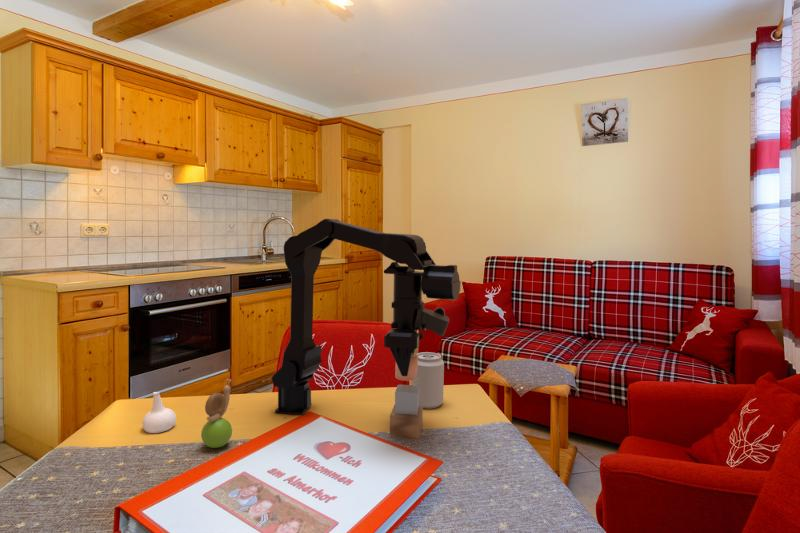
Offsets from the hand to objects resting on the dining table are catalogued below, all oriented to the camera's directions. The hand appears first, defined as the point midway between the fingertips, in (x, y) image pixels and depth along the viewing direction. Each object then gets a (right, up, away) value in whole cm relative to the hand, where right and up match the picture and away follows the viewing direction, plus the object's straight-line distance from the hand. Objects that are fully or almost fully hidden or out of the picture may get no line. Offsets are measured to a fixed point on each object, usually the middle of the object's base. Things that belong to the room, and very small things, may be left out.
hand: (406, 372), depth 96 cm
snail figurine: (-36, -13, -7) cm, 38 cm away
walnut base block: (0, -13, +1) cm, 13 cm away
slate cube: (0, -8, +1) cm, 8 cm away
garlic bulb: (-51, -12, +1) cm, 52 cm away
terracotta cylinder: (0, -1, 0) cm, 1 cm away
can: (+5, -11, +16) cm, 21 cm away
